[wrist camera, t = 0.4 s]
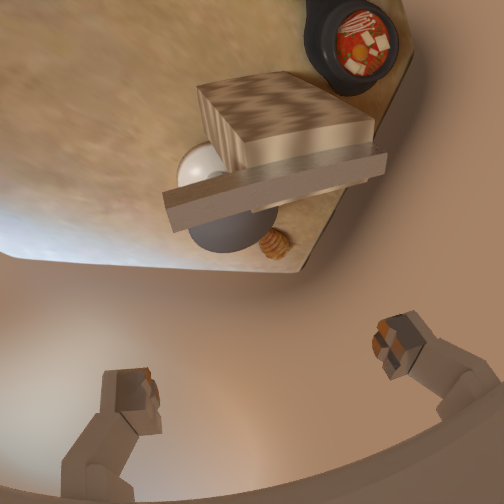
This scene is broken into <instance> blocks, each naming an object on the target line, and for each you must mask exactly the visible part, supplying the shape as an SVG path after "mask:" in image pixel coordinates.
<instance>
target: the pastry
mask: <svg viewBox="0 0 504 504" xmlns="http://www.w3.org/2000/svg"><path fill="white" fill-rule="evenodd" d="M259 245H260V247H261V251H262V252H263V253H265V254H266V256H267V257H268V258H271V259H275V260H279V259H281V258H283V257H284V256H285V255H286V253H287V252H288V250H289V243H288V239H287V238H286V237H285V236H284V235H283V234H281V233H280V232H278V231H276V230H274V229H272V228H271V229H270V230H269V231H268V233H267V234H266V235H265V236H264V237H263V238H261V239H260V240H259Z"/></svg>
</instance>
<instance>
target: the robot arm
mask: <svg viewBox="0 0 504 504" xmlns="http://www.w3.org/2000/svg"><path fill="white" fill-rule="evenodd" d="M377 329H378V330H379V331H378V332H377V333H376V334H375V335H374V337H373V340H372V348H373V351H374V354H375V356H376V357H377V359H379V360H381V361H383V367H382V368H383V369H384V371H385V372H386V374H387V376H388V378H389V379H390V380H393V379H396V378H398V377H401V376H404V375H406V374H408V375H409V376H410V377H412V378H413V379H415V380H416V381H417V382H419V383H420V384H422V385H423V386H425V387H426V388H428V389H429V390H431V391H432V392H434V393H435V394H436V395H438V396H439V397H441V398H442V399H443V400H442V401H441V402H440V404H439V405H438V406H437V408H436V411H437V413H438V414H439V416H440V418H441V419H442V422H440V423H438V424H436V425H434V426H432V427H431V428H429V429H427V430H425V431H423V432H421V433H419V434H417V435H415V436H413V437H411V438H409V439H407V440H405V441H403V442H401V443H399V444H396V445H395V446H392V447H390V448H388V449H385V450H383V451H381V452H378V453H376V454H373V455H371V456H369V457H366V458H363V459H361V460H358V461H356V462H353V463H350V464H347V465H345V466H342V467H339V468H336V469H333V470H330V471H327V472H324V473H321V474H317V475H314V476H311V477H308V478H304V479H300V480H297V481H293V482H289V483H285V484H281V485H277V486H273V487H268V488H264V489H259V490H254V491H249V492H243V493H238V494H232V495H226V496H218V497H211V498H203V499H193V500H181V501H166V502H135V499H134V491H133V487H132V486H131V485H130V484H128V483H127V482H125V481H124V480H122V479H121V478H119V476H120V474H121V471H122V470H123V467H124V465H125V464H126V462H127V460H128V458H129V456H130V454H131V452H132V450H133V448H134V446H135V444H136V442H137V440H138V438H139V436H143V435H153V434H162V426H161V416H160V414H159V413H158V411H157V410H158V408H159V406H160V398H159V392H158V388H157V385H156V383H155V381H154V380H153V379H151V372H150V371H149V369H148V367H147V368H135V369H122V370H109V371H104V374H103V376H102V388H101V401H100V413H96V414H95V415H94V417H93V418H92V419H91V421H90V422H89V424H88V425H87V427H86V428H85V429H84V431H83V432H82V433H81V435H80V436H79V438H78V439H77V441H76V442H75V443H74V445H73V446H72V447H71V449H70V450H69V452H68V453H67V455H66V456H65V457H64V459H63V460H62V465H61V497H55V496H48V495H43V494H37V493H32V492H26V491H21V490H17V489H13V488H9V487H4V486H1V485H0V504H504V382H502V383H501V382H500V380H499V379H498V377H497V376H496V375H495V373H494V372H493V370H492V369H491V368H490V366H489V365H488V364H487V362H486V361H485V360H484V359H482V358H480V357H478V356H476V355H474V354H472V353H469V352H467V351H465V350H463V349H461V348H459V347H457V346H455V345H453V344H451V343H449V342H447V341H445V340H443V339H441V338H439V339H437V338H436V336H435V335H434V334H433V333H432V331H431V330H430V329H429V327H428V326H427V325H426V323H425V322H424V321H423V320H422V318H421V317H420V316H419V315H418V313H417V312H415V311H414V310H413V311H409V312H406V313H404V314H399V315H396V316H393V317H389V318H386V319H383V320H381V321H380V322H379V323H378V325H377Z"/></svg>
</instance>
